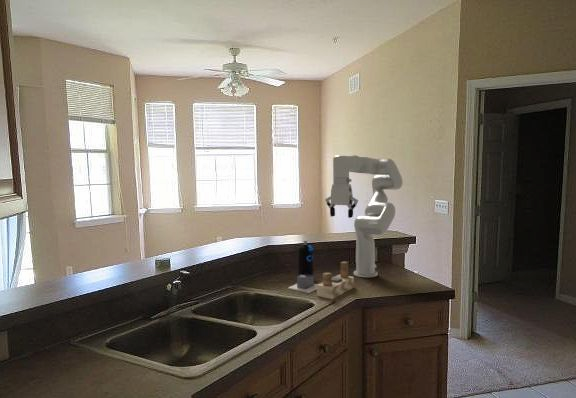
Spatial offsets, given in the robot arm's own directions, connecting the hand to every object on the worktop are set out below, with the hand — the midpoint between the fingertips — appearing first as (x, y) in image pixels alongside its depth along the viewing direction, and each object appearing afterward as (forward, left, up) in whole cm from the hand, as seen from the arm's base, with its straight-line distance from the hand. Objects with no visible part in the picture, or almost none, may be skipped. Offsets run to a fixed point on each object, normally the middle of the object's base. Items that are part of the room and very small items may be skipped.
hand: (341, 216), depth 183 cm
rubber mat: (+14, -12, -33) cm, 38 cm away
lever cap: (+14, -12, -33) cm, 38 cm away
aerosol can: (+2, -20, -34) cm, 39 cm away
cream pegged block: (+11, +3, -33) cm, 35 cm away
